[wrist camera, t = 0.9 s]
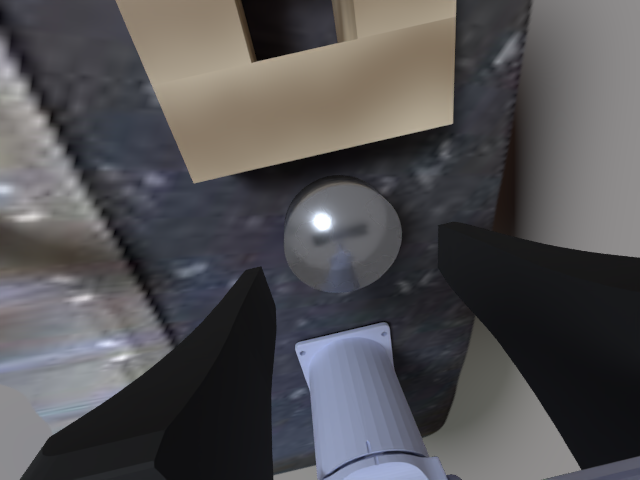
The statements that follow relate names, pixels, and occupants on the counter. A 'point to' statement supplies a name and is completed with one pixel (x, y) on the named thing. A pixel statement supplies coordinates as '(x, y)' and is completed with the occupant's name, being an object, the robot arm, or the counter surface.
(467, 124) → the counter surface
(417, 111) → the block
